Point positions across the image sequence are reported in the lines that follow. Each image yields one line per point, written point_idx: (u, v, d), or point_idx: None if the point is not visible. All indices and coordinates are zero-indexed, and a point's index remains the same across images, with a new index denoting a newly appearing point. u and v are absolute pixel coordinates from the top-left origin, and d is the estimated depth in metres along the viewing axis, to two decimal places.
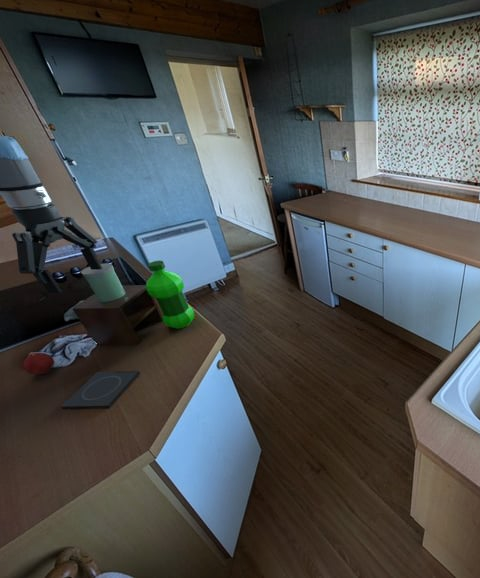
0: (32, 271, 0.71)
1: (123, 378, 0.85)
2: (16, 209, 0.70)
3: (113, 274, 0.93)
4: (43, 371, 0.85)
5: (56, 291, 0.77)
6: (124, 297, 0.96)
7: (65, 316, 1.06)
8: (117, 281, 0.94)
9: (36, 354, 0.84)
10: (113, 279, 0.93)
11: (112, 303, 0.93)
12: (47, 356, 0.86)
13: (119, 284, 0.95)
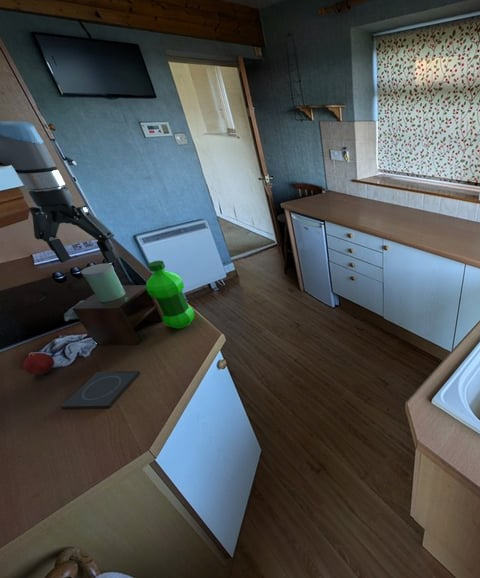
0: None
1: (123, 378, 0.85)
2: (57, 189, 0.77)
3: (113, 274, 0.93)
4: (43, 371, 0.85)
5: (114, 258, 0.89)
6: (124, 297, 0.96)
7: (65, 316, 1.06)
8: (117, 281, 0.94)
9: (36, 354, 0.84)
10: (113, 279, 0.93)
11: (112, 303, 0.93)
12: (47, 356, 0.86)
13: (119, 284, 0.95)
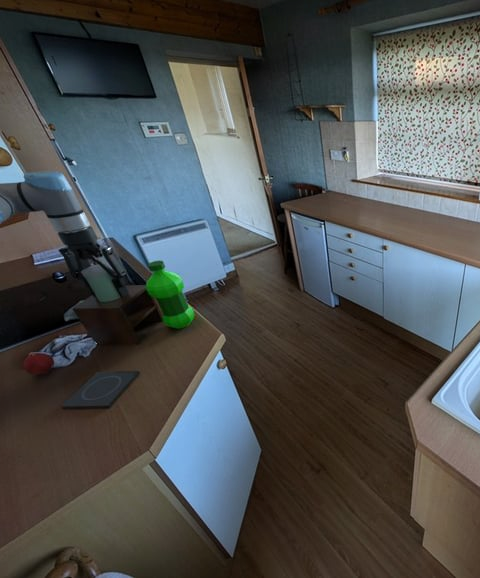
0: None
1: (123, 378, 0.85)
2: (83, 229, 0.84)
3: None
4: (43, 371, 0.85)
5: (127, 292, 0.97)
6: (124, 297, 0.96)
7: (65, 316, 1.06)
8: None
9: (36, 354, 0.84)
10: None
11: (112, 303, 0.93)
12: (47, 356, 0.86)
13: None
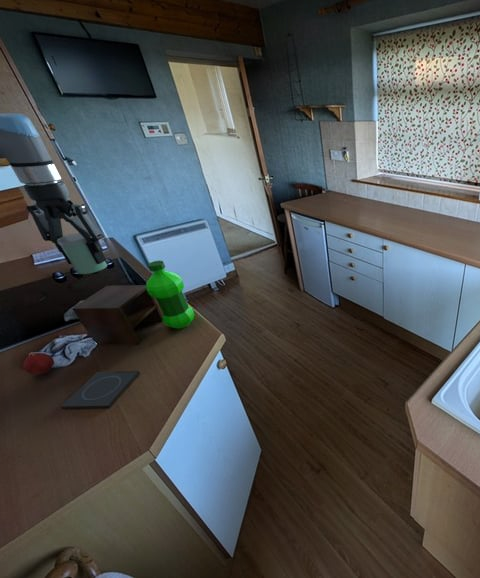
0: None
1: (123, 378, 0.85)
2: (53, 183, 0.75)
3: None
4: (43, 371, 0.85)
5: (104, 259, 0.88)
6: (124, 297, 0.96)
7: (65, 316, 1.06)
8: None
9: (36, 354, 0.84)
10: None
11: (112, 303, 0.93)
12: (47, 356, 0.86)
13: None
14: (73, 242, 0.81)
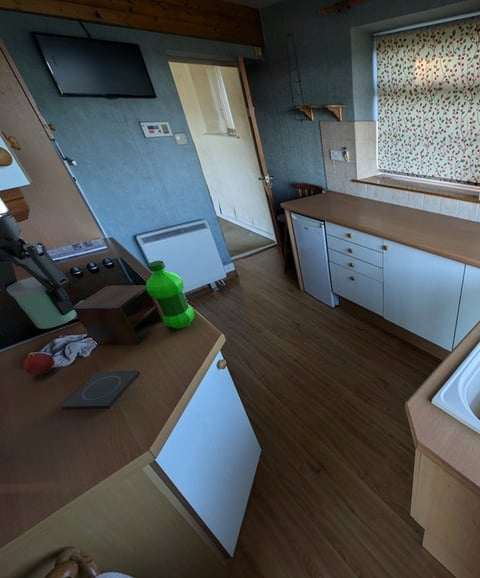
0: None
1: (123, 378, 0.85)
2: None
3: None
4: (43, 371, 0.85)
5: (71, 308, 0.70)
6: (124, 297, 0.96)
7: None
8: None
9: (36, 354, 0.84)
10: None
11: (112, 303, 0.93)
12: (47, 356, 0.86)
13: None
14: (28, 291, 0.63)
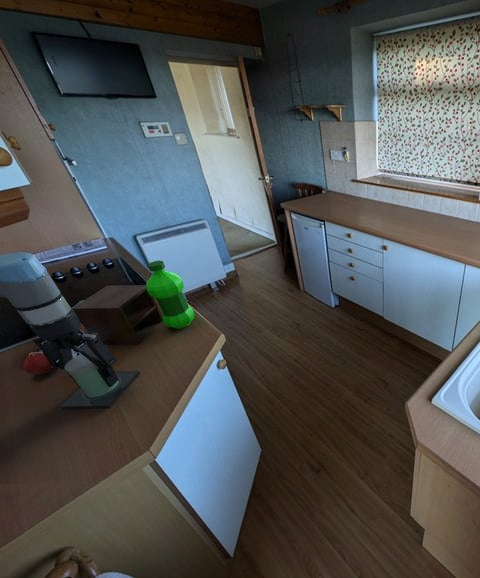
0: None
1: (123, 378, 0.85)
2: (62, 318, 0.68)
3: None
4: (43, 371, 0.85)
5: (116, 379, 0.81)
6: (124, 297, 0.96)
7: None
8: None
9: (36, 354, 0.84)
10: None
11: (112, 303, 0.93)
12: None
13: None
14: (82, 370, 0.74)
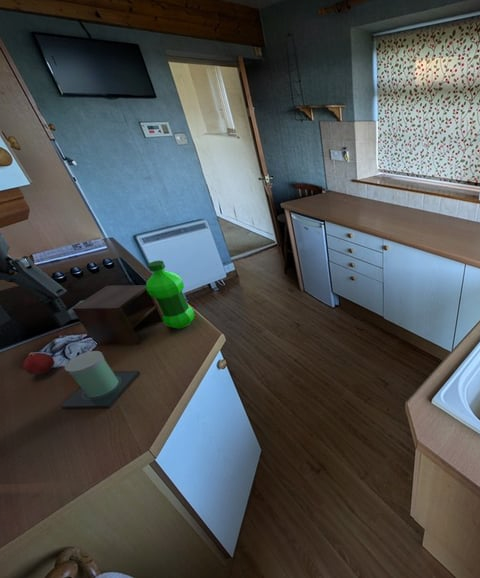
0: None
1: (123, 378, 0.85)
2: None
3: (103, 365, 0.78)
4: (43, 371, 0.85)
5: (69, 318, 0.69)
6: (124, 297, 0.96)
7: None
8: (108, 372, 0.80)
9: (36, 354, 0.84)
10: (103, 371, 0.78)
11: (112, 303, 0.93)
12: (47, 356, 0.86)
13: (111, 374, 0.81)
14: (82, 370, 0.74)
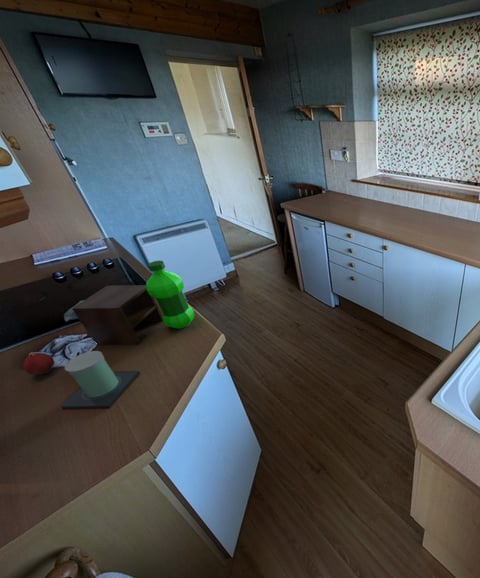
0: None
1: (123, 378, 0.85)
2: None
3: (103, 365, 0.78)
4: (43, 371, 0.85)
5: None
6: (124, 297, 0.96)
7: (65, 316, 1.06)
8: (108, 372, 0.80)
9: (36, 354, 0.84)
10: (103, 371, 0.78)
11: (112, 303, 0.93)
12: (47, 356, 0.86)
13: (111, 374, 0.81)
14: (82, 370, 0.74)
